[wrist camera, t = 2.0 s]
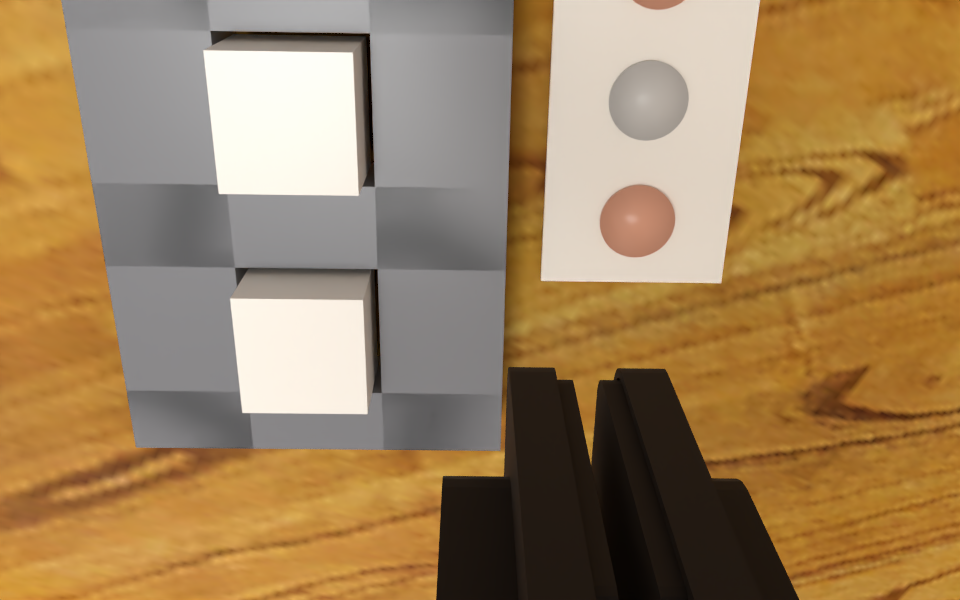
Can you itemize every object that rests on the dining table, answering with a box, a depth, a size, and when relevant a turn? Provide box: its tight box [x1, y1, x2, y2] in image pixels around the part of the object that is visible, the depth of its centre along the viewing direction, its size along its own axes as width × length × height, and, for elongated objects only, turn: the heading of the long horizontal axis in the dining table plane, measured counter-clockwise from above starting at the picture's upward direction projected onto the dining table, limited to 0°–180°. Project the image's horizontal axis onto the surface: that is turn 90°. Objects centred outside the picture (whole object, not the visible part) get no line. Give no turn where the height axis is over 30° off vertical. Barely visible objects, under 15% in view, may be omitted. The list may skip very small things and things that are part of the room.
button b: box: [203, 34, 371, 196], centre depth 29 cm, size 4×4×4 cm
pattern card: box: [540, 0, 760, 283], centre depth 32 cm, size 7×14×1 cm, turn 179°
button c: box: [230, 268, 378, 414], centre depth 32 cm, size 4×4×4 cm
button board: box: [61, 0, 514, 451], centre depth 30 cm, size 14×26×3 cm, turn 179°
